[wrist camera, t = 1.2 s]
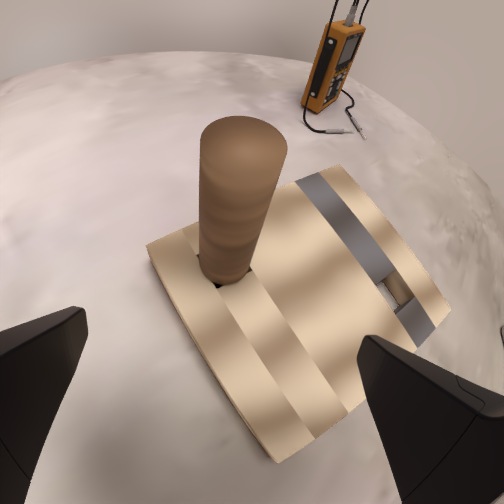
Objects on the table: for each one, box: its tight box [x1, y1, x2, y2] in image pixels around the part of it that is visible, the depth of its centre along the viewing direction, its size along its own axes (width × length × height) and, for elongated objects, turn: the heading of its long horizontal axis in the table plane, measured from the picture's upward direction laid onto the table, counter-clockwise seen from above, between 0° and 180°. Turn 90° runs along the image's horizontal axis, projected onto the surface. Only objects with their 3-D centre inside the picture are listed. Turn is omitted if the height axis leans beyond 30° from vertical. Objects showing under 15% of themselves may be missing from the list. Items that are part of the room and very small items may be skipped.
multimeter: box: [301, 0, 369, 139], centre depth 29 cm, size 15×10×20 cm
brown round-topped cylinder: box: [199, 116, 287, 286], centre depth 18 cm, size 4×4×14 cm
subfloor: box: [146, 164, 451, 464], centre depth 23 cm, size 18×20×2 cm
